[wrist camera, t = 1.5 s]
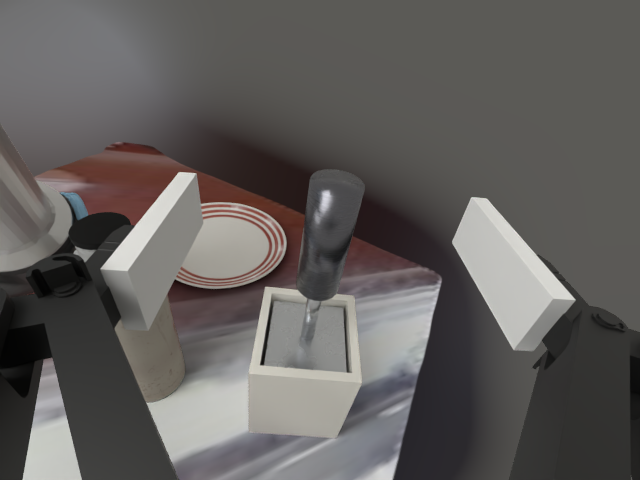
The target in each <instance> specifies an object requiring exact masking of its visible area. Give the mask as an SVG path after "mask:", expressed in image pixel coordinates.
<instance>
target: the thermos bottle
mask: <svg viewBox="0 0 640 480" xmlns="http://www.w3.org/2000/svg"><path fill="white" fill-rule="evenodd" d="M123 225H131V223H130V221H129V219H128V218H127V217H126V216H124V215H122V214H118V213H112V212H103V213H96V214H92V215H89V216H86V217H83V218H81V219H80V220H78V221H76V222H75V223H74V224H73V225H72V226H71V227H70V229H69V232H68V234H69V238H70V240H71V242H72V243H73V244H74V245H75V248H76V250H75V251H74V253H73V254H76V255H79V256H80V257H81V258H82V259H83V260H84V262H86V261H87V260H88V259H89V257H90V256H91V255H92V254H93V253H94V252H95V251H96V250H98V247H99V246H100V245H101V244H102V243H104V241H105V240H106V238H107V237H108V236H109V235H110V234H111V233H112V232H113V231H115V230H117V229H118V228H120V227H122V226H123ZM114 329H115V331H116V334H117V336H118V338H119V341H120V343H121V345H122V348H123V350H124V352H125V355H126V357H127V359H128V362H129V364H130V366H131V369H132V371H133V373H134V376H135V378H136V380H137V383H138V385H139V387H140V390H141V392H142V394H143V397H144V399H145V401H146V402H155V401H158V400H161V399H163V398H165V397H167V396H168V395H170V394H171V393H173V392H174V391H175V390H176V389H177V388H178V386H179V385H180V384H181V382H182V380H183V378H184V375H185V369H186V368H185V362H184V358H183V354H182V350H181V346H180V342H179V338H178V334H177V331H176V328H175V325H174V321H173V315H172V310H171V306H170V302H169V298H168V294H167V295H166V297H165V299H164V301H163V303H162V305H161V307H160V309H159V311H158V313H157V315H156V317H155V319H154V321H153V323H152V325H151V327H150V328H149V330H148V331H145V330H126V329H125V328H124V325H123V323H122V321H121V319H120V320H119V322H118V324H117V325H116V327H115V328H114Z"/></svg>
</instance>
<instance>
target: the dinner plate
mask: <svg viewBox="0 0 640 480" xmlns="http://www.w3.org/2000/svg"><path fill="white" fill-rule="evenodd" d="M201 210H202V217H203V225H202V227H201V229H200V231H199V233H198V235H197V237H196V239H195V241H194V243H193V245H192V247H191V249H190V251H189V253H188V254H187V256H186V258H185V260H184V262H183V264H182V266H181V268H180V270H179V272H178V274H177V276H176V278H175V280H177V281H180V282H182V283H185V284H188V285H191V286H195V287H200V288H209V289H223V288H232V287H237V286H242V285H245V284H249V283H251V282H254V281H256V280H259V279H260V278H262V277H264V276H266V275H267V274H269V273H270V272H271V271H272V270H273V269H275V268H276V267H277V265H278V264H279V263H280V262H281V260H282V259H283V257H284V254H285V251H286V246H287V241H286V236H285V233H284V231H283V229H282V228H281V226H280V225H279V224H278V223H277V221H275V220H274V219H273V218H272V217H271V216H269V215H268V214H266V213H264V212H262V211H260V210H258V209H256V208H253V207H250V206H246V205H242V204H236V203H224V202H217V203H206V204H201Z"/></svg>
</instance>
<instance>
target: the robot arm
mask: <svg viewBox="0 0 640 480" xmlns="http://www.w3.org/2000/svg"><path fill="white" fill-rule="evenodd" d="M86 216H88V213H87V210H86V208H85V205H84V203H83V201H82V199H81V198H80V196H79V195H77V194H76V193H64V192H60V193H59V192H58V191H57V190H55V189H54V188H52V187H50V186H49V185H47V184H45V183H42V182H40V181H37V180H35V179H34V177H33V175H32V174H31V172H30V171H29V169H28V167H27V166H26V164H25V162H24V161H23V159H22V158H21V156H20V154H19V153H18V151H17V150H16V148H15V147H14V145H13V143H12V142H11V140H10V138H9V137H8V135H7V133H6V132H5V130H4V129H3V127H2V125H1V124H0V480H22V479H23V473H24V467H25V462H26V456H27V450H28V445H29V439H30V433H31V428H32V422H33V416H34V411H35V405H36V399H37V394H38V388H39V382H40V377H41V371H42V365H43V360H44V359H47V358H52V357H53V361H54V365H55V369H56V373H57V378H58V382H59V386H60V390H61V394H62V398H63V402H64V407H65V411H66V415H67V419H68V423H69V427H70V432H71V436H72V440H73V444H74V448H75V452H76V456H77V461H78V465H79V469H80V473H81V477H82V480H179V479H178V476H177V474H176V472H175V469H174V467H173V465H172V462H171V460H170V458H169V455H168V453H167V451H166V448H165V446H164V443H163V441H162V439H161V436H160V434H159V432H158V429H157V427H156V425H155V422H154V420H153V418H152V415H151V413H150V411H149V408H148V406H147V404H146V401H145V399H144V397H143V394H142V392H141V390H140V387H139V385H138V383H137V380H136V378H135V376H134V373H133V371H132V369H131V366H130V364H129V362H128V359H127V357H126V355H125V352H124V350H123V348H122V345H121V343H120V341H119V338H118V336H117V334H116V331H115V329H114V328H115V327H116V325H117V324H118V322H119V320H120V319H121V321H122V323H123V325H124V328H125V329H126V330H145V331H148V330H149V328H150V327H151V325H152V323H153V321H154V319H155V317H156V315H157V313H158V311H159V309H160V307H161V305H162V303H163V301H164V299H165V297H166V295H167V293H168V291H169V290H170V288H171V286H172V284H173V282H174V280H175V278H176V276H177V274H178V272H179V270H180V268H181V266H182V264H183V262H184V260H185V258H186V256H187V254H188V253H189V251H190V249H191V247H192V245H193V243H194V241H195V239H196V237H197V235H198V233H199V231H200V229H201V227H202V225H203V217H202V210H201V203H200V196H199V189H198V182H197V174H196V173H184V172H179V173H178V174H177V175H176V177H175V178H174V179H173V180H172V182H171V183H170V184H169V185H168V187H167V188H166V189H165V190H164V191H163V193H162V194H161V195H160V196H159V198H158V199H157V200H156V201H155V202H154V204H153V205H152V206H151V207H150V209H149V210H148V211H147V212H146V214H145V215H144V216H143V217H142V218H141V220H140V221H139V222H138V223H137V225H136V226H134V225H123V226H122V227H120V228H118V229H117V230H115V231H113V232H112V233H111V234H110V235H109V236H108V237H107V238H106V240H105V241H104V243H102V244H101V245H100V246H99V247H98V250H96V251H95V252H94V253H93V254H92V255H91V256H90V257H89V259H88V260H87V261H86V262H84V260H83V259H82V258H81V257H80V256H79V255H76V254H73V253H74V251H75V250H76V248H75V245H74V244H73V243H72V242H71V240H70V238H69V234H68V232H69V229H70V227H71V226H72V225H73V224H74V223H75V222H76V221H78V220H80V219H81V218H83V217H86ZM452 243H453V245H454V247H455V248H456V250H457V252H458V253H459V255H460V257H461V259H462V261H463V262H464V264H465V266H466V268H467V269H468V271H469V273H470V274H471V276H472V278H473V280H474V281H475V283H476V285H477V287H478V289H479V290H480V292H481V294H482V296H483V297H484V299H485V301H486V303H487V304H488V306H489V308H490V310H491V311H492V313H493V315H494V317H495V318H496V320H497V322H498V324H499V325H500V327H501V329H502V331H503V332H504V334H505V336H506V338H507V339H508V341H509V343H510V345H511V346H512V348H513V350H523V351H534V349H535V348H536V347H537V346H538V345H539V343H540V342H541V341H543V343H544V344H545V346H546V347H547V349H548V350H547V351H546V352H545V353H544V354H543V355H542V357H540V359H539V360H538V361H537V362H536V363H535V364H534V366H533V368H534V369H536V368H537V367H538V366H540V367H539V371H538V374H537V378H536V381H535V385H534V389H533V392H532V396H531V400H530V404H529V407H528V411H527V415H526V418H525V422H524V426H523V429H522V433H521V437H520V440H519V444H518V448H517V451H516V455H515V459H514V462H513V466H512V470H511V474H510V477H509V480H631V477H632V480H640V332H637V331H634V330H631V329H628V327H627V326H626V325H625V324H624V322H623V321H622V320H620V319H619V318H618V317H617V316H615V315H614V314H612V313H610V312H608V311H606V310H604V309H601V308H598V307H593V306H589V305H588V304H587V303H586V302H585V301H584V300H583V298H582V297H581V296H580V295H579V294H578V293H577V292H576V291H575V290H574V288H572V287H571V285H570V284H569V283H568V282H566V281H565V279H564V278H563V276H562V275H561V274H559V272H558V271H557V270H556V269H555V268H554V267H553V265H552V264H551V263H550V262H548V261H547V260H545V259H544V258H542V257H541V256H540V255H536V254H535V253H534V252H533V251H532V250H531V249H530V247H529V246H528V245H527V244H526V243H525V242H524V241H523V240H522V238H521V237H520V236H519V235H518V234H517V233H516V231H515V230H514V229H513V228H512V227H511V226H510V225H509V223H508V222H507V221H505V219H504V218H503V217H502V215H501V214H500V213H499V212H498V211H497V210H496V209H495V208H494V206H493V205H492V204H491V203H490V202H489V201H488V200H487V199H486V198H474V197H472V198H471V200H470V202H469V204H468V207H467V209H466V211H465V213H464V216H463V218H462V221H461V223H460V225H459V227H458V230H457V232H456V234H455V237H454V239H453V241H452ZM33 292H35V294H30V293H33ZM27 294H30V295H27ZM23 295H24V296H23Z"/></svg>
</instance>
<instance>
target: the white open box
mask: <svg viewBox="0 0 640 480" xmlns="http://www.w3.org/2000/svg"><path fill="white" fill-rule="evenodd" d="M274 301H281V302H291V303H301V304H306V302H307V298H306V297H304V296H303V295H302V294H301V293H300V292H299V291H298V290H293V289H283V288H274V287H265V291H264V296H263V301H262V306H261V311H260V317H259V322H258V327H257V332H256V337H255V342H254V347H253V353H252V358H251V363H250V368H249V373H248V388H249V433H264V434H279V435H294V436H309V437H324V438H337V436H338V434H339V432H340V429H341V427H342V425H343V423H344V421H345V419H346V417H347V414H348V412H349V410H350V408H351V406H352V404H353V402H354V399H355V397H356V395H357V393H358V391H359V389H360V387H361V384H362V376H361V365H360V354H359V343H358V332H357V321H356V310H355V299H354V296H351V295H341V294H336V295H335V296H334V297H333V298H331V299H329V300H326V301H322V302H321V306H331V307H341V308H343V314H344V333H345V351H346V370H347V373H345V372H333V371H321V370H309V369H297V368H285V367H273V366H264V362H265V356H266V350H267V343H268V337H269V331H270V324H271V318H272V312H273V305H274Z"/></svg>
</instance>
